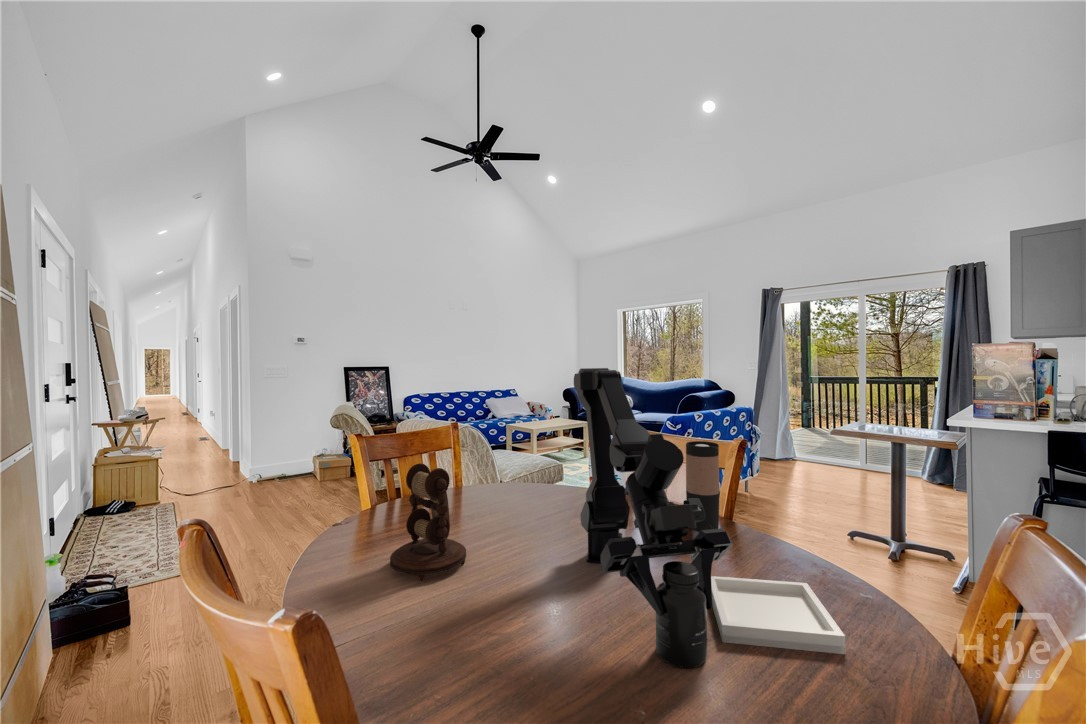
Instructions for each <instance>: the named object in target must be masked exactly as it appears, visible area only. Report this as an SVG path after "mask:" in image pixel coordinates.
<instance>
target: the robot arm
mask: <svg viewBox="0 0 1086 724" xmlns="http://www.w3.org/2000/svg"><path fill="white" fill-rule="evenodd" d="M573 387H574V390H575V391H576V396H577V400H578V401H579V402H580V404H581V406H582V407H583V408H584V409H585V411H586V412H585V413H586V424H587V434H588V445H589V446H588V447H589V456H590V467H591V478H592V479H591V481H590V484H589V486H588V488H587V490H586V492H585V502H584V505H583V506H582V509H581V512H580V514H579V515H580V525H581V526H582V527H583V530H585V531H586V533H587V557H586V562H588V563H599V564H601V569H602V572H603V573H605V574H607V573H616V572H619V576H620V577H622V578H623V577H624V578H627V579H628V581H630V583H631V584H632V585H633V586H634V587H635V588H636V589H637V590H638V591H639V592H640V594H641V595H642V596H643V597H644V598H645V601H646V602H647V603H648V604H649V605H650V606H651V608H652V609H653V610H654V611H655V614H656V613H657V614H658V615H659V616H662V615H663V614H664V612H663V607H662V603H661V600H660V597H659V594H658V591H657V586H656V583H655V581H654V577H653V575H652V571H651V565H650V559H654V558H655V559H656V558H662V557H663V558H664V557H674V556H685V555H689V558H690V560H691V562H690V564H693V565H694V566H696V567H697V568H698V569H699V585H698V586H700V587H701V588H702V589H703V591H704V592H705V594H706V597H707V611H709V610H710V611H711V609H713V607H712V587H711V576H712V568H713V567H712V566H713V562H717V561H719V560H721V559H722V558H723V556H724V555H725V554H726V553H727V552H728V551H729V550H730V549H731V548H732V547H733V545H734V544H733V542H732V539H731V537H730V535H729V533H728V532H727V531H726V530H724V529H723V528H718V529H710V530H701V531H698V533H697V535H696V536H695V537H694V538H693V539H686V540H683V538H684V537H686V536H687V535H688V534H689V530H688V529H691V528H696V522H700V521H703V520H705V512H704V508H703V506H702V504H701V502H700V500H699V498H692V499H687V500H686V499H685V500H683V504H675V503H674V501H670V500H669V499H668V496H667V493H666V489H668V488H669V487H670V486H671V485H672V482H673V481H674V479H675V478H676V476H677V474H678V472H679V471H680V469H681V468H682V465H683V463H684V454H683V451H682V450H681V448H679V447H678V446H677V445H676V444H674V443H673V442H672V441H670V440H667V439H665V437H664V436H663V433H650V432H649V431H648V430H647V428H645V427H643V426H642V425H640V424H639V423H638V421H637V419H636V418H635V414H634V412H633V410H632V409H633V408H632V407H631V405H630V401H629V399H628V397H627V394H626V392H625V389H624V387H623V383H622V374H621V371H619V370H618V371H617V370H616V369H609V368H608V367H596V368H595V367H594V368H593V367H592V368H591V367H590V368H585V367H582V368H580V369H579V370H578V372H577V373H575V374H574V376H573ZM615 471H617V472H619V473H631V474H629V475H628V477H627V479H626V481H625V484H624V485H625V487H624V485H621V484H620V482H619V481H618V480H617V477H616V474H615V473H616V472H615ZM627 496H628V498H629V501H630V504H631V507H630V505H629V502H628V500H627ZM631 508H632V510H633V511H632V512H633V516H634V517H635V518H634V519H633V520H634V521H633V524H634V527H635V529H638V531H639V534H640V538H641V540H642V544H638V543H636V539H634V537H633V536H625V537H623V533H622V532H620V530H627V529H628V524H629V517H630V509H631Z"/></svg>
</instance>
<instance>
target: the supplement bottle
mask: <svg viewBox="0 0 1086 724" xmlns="http://www.w3.org/2000/svg"><path fill="white" fill-rule="evenodd" d="M661 578H662V581H661V582H660V583H659V584H658V585H657V586H656V588H657V591H658V594H659V597H660V600H661V603H662V607H663V612H664V614H663V615H662V616H659V615H658V614H657V613H656V612H655V649H656V653H657V654H658V657H660V659H662V660H663V661H664V662H666V663H667V664H669V665H671V666H674V667H676V668H684V669H694V668H697V667H699V666H701V665H703V664H704V662H706V659H707V656H708V610H707V597H706V594H705V592H704V591H703V589H702V588H701V587H700V586H698V585H699V569H698V568H697V567H696V566H694V565H693V564H691V562H686V561H683V560H682V561H680V560H679V561H678V560H673V561H668V562H665V563H664V564H663V565H662V575H661Z"/></svg>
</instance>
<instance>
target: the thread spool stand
mask: <svg viewBox="0 0 1086 724" xmlns="http://www.w3.org/2000/svg"><path fill="white" fill-rule="evenodd" d="M405 484H406V486H407V488H408V489H409V490H410V493H411V494H410V496H409V497H408V501H409V503H410V505H411V508H412V509H411V511H410V512H411V513H410V514H409V516H408V517H407V520H406V524H405V525H406V531H407V533H408V534H409V535H410V537H411V538H410V539H411V541H410V542H408V543H405V544H403V545H401V546H400V547H399V548H397V549H395V550H394V551H393V552H392V553H391V554H390V557H389V566H390V568H391V569H392V570H394V571H395V572H397V573H400V574H404V575H411V576H418V579H419V581H420V582H423V581H424V579H425V576H426V575H434V574H439V573H444V572H447V571H449V570H452V569H454V568H456V567H458V566H460V565H461V566H464V565H465V562H466V559H467V549H466V547H465V545H463V544H462V543H460V542H458V541H457V540H454V539H449V536H450V529H451V520H450V519H451V518H450V507H449V505H450V504H449V498H448V493H447V491H448V489H449V486H450V475H449V473H448V471H447V470H446V469H444V468H442V467H437V468H434V469H432V470H430V469H429V466H427V465H426V464H425V463H415V464H414V465H412V466H411V467H410V468H409V469H408V471H407V473H406V478H405ZM418 506H423V507H424V508H418ZM427 509H430V510H431V514H430V512H429V511H428V510H427ZM431 516H432V518H431ZM419 538H421V539H419Z"/></svg>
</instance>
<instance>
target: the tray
mask: <svg viewBox="0 0 1086 724" xmlns="http://www.w3.org/2000/svg"><path fill="white" fill-rule="evenodd" d="M711 587H712V609H713V614H714V617H715V619H716V624H717V628H718V631H719V635H720V638H721V642H722V643H724V644H725V643H728V644H737V645H749V646H758V647H768V648H777V649H786V650H787V649H788V650H799V651H805V652H806V651H807V652H809V651H810V652H817V653H819V652H820V653H828V654H837V655H838V654H839V655H846V634H844V632H843V631H842V630H841V628H840V627H839V625H838V624H837V623H836V621H835V620H834V618H833V617H832V615H831V614H830V613H829V611H828V610H827V608H826V607H825V606H824V605H823V603H822V602H821V600H820V599H819V598H818V596H817V595H816V594H815V592H814V591H813V590H812V587H810V585H809V584H808V583H807V582H796V581H787V580H785V581H784V580H771V579H756V578H743V577H742V578H740V577H728V576H714V575H711Z"/></svg>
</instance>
